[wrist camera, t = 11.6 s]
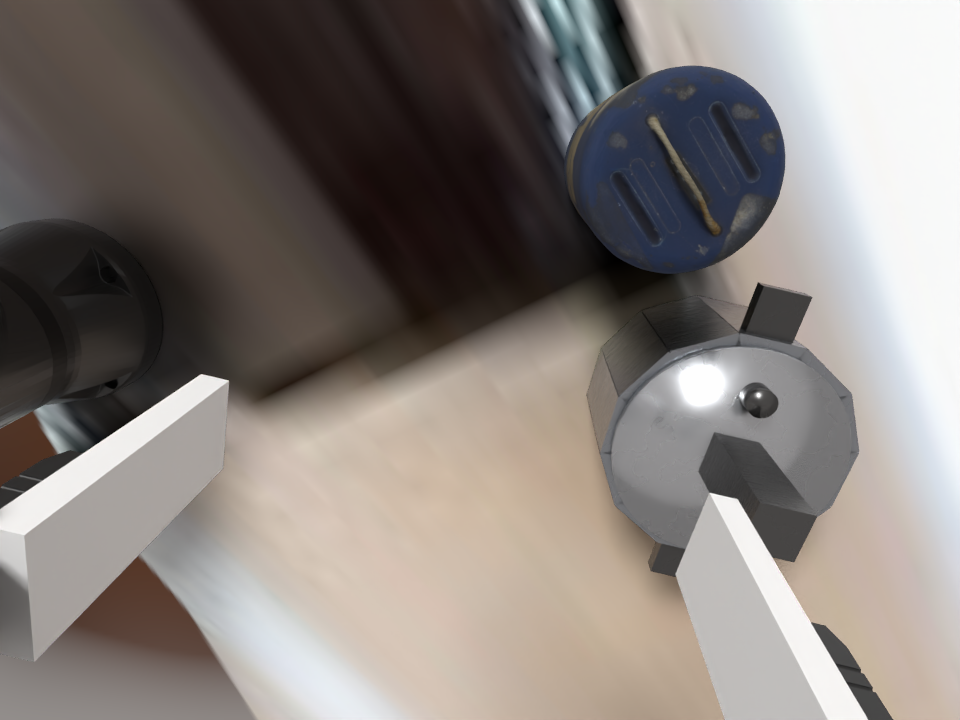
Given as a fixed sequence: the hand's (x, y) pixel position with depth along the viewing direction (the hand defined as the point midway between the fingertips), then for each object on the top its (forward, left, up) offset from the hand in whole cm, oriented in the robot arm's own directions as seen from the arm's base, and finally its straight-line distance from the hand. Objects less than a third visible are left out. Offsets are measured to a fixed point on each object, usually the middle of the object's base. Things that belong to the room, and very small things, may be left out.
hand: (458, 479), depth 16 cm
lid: (+17, -7, -24) cm, 30 cm away
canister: (+7, +9, -32) cm, 34 cm away
